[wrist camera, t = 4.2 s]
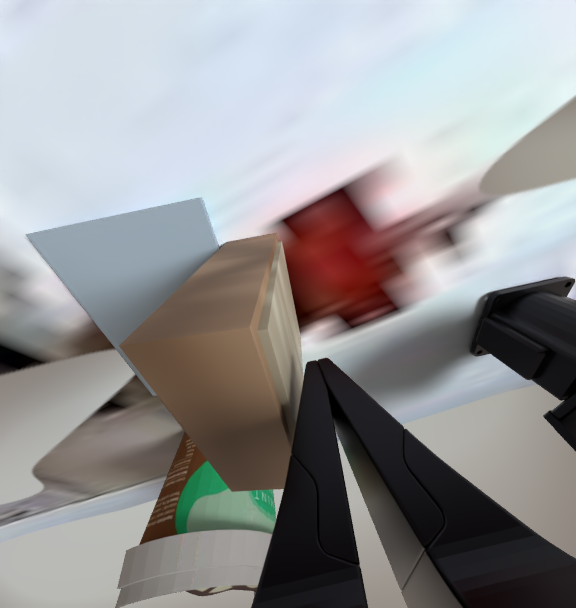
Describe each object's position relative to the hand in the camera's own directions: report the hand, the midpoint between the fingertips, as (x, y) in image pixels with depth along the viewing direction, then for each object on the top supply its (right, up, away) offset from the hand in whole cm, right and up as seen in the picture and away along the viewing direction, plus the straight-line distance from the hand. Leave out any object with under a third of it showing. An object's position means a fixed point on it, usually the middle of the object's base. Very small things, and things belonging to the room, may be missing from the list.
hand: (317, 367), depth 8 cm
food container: (-6, -11, +14) cm, 18 cm away
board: (-9, +2, +6) cm, 11 cm away
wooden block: (-3, +3, +6) cm, 7 cm away
